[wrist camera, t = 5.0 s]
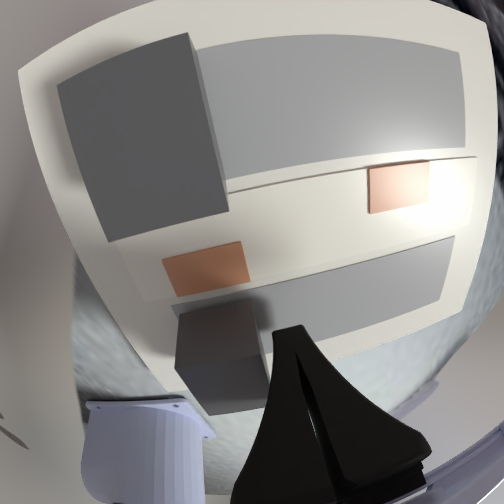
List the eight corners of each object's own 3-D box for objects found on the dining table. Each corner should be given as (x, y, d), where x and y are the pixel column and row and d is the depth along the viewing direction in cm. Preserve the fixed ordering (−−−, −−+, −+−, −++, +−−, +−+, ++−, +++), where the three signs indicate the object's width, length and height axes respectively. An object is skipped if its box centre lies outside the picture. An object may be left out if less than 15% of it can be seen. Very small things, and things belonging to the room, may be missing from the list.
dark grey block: (207, 368, 13) (209, 415, 11) (179, 313, 11) (174, 368, 9) (265, 357, 13) (275, 405, 11) (250, 299, 11) (260, 353, 9)
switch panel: (169, 372, 16) (167, 394, 15) (38, 71, 7) (14, 70, 5) (449, 297, 16) (462, 312, 15) (466, 24, 7) (488, 23, 5)
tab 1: (136, 200, 8) (108, 242, 6) (102, 85, 6) (56, 85, 4) (225, 177, 8) (229, 211, 6) (197, 53, 6) (188, 31, 4)
